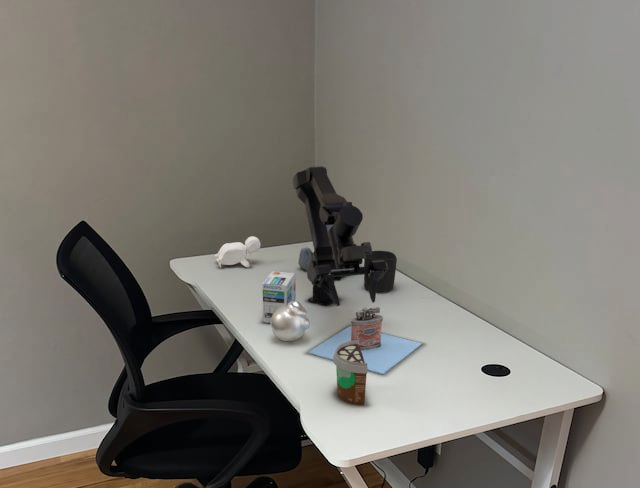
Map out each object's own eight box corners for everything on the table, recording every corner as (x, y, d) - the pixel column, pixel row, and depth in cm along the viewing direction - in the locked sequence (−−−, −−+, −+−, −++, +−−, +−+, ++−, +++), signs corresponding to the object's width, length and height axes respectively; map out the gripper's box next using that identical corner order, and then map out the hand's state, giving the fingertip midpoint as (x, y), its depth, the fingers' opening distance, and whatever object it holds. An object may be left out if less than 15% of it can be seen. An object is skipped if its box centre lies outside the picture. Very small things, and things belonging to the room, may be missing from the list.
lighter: (353, 352, 165) (355, 313, 161) (347, 347, 168) (348, 308, 164) (383, 347, 168) (386, 308, 164) (377, 342, 171) (379, 303, 166)
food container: (328, 381, 153) (330, 339, 148) (356, 380, 153) (358, 339, 148) (335, 409, 142) (336, 365, 137) (365, 408, 142) (367, 364, 138)
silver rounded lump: (301, 349, 167) (301, 310, 163) (265, 343, 170) (264, 305, 165) (314, 335, 175) (314, 298, 170) (279, 330, 178) (279, 293, 173)
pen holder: (401, 288, 207) (403, 255, 202) (381, 296, 201) (383, 262, 196) (376, 280, 212) (378, 248, 208) (356, 288, 206) (357, 255, 202)
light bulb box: (287, 325, 181) (287, 285, 176) (262, 323, 182) (261, 283, 177) (296, 310, 190) (296, 272, 185) (272, 308, 191) (272, 270, 186)
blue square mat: (350, 326, 180) (350, 325, 180) (421, 344, 171) (421, 343, 171) (308, 353, 165) (308, 352, 165) (382, 374, 156) (382, 373, 156)
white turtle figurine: (224, 278, 222) (267, 258, 222) (213, 254, 218) (257, 234, 218) (221, 270, 229) (263, 251, 230) (210, 247, 225) (253, 227, 225)
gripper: (314, 233, 165) (327, 293, 161) (387, 227, 170) (402, 286, 165) (304, 255, 175) (317, 312, 171) (374, 250, 180) (387, 305, 176)
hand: (356, 303), depth 170 cm, fingers open, 9 cm apart
